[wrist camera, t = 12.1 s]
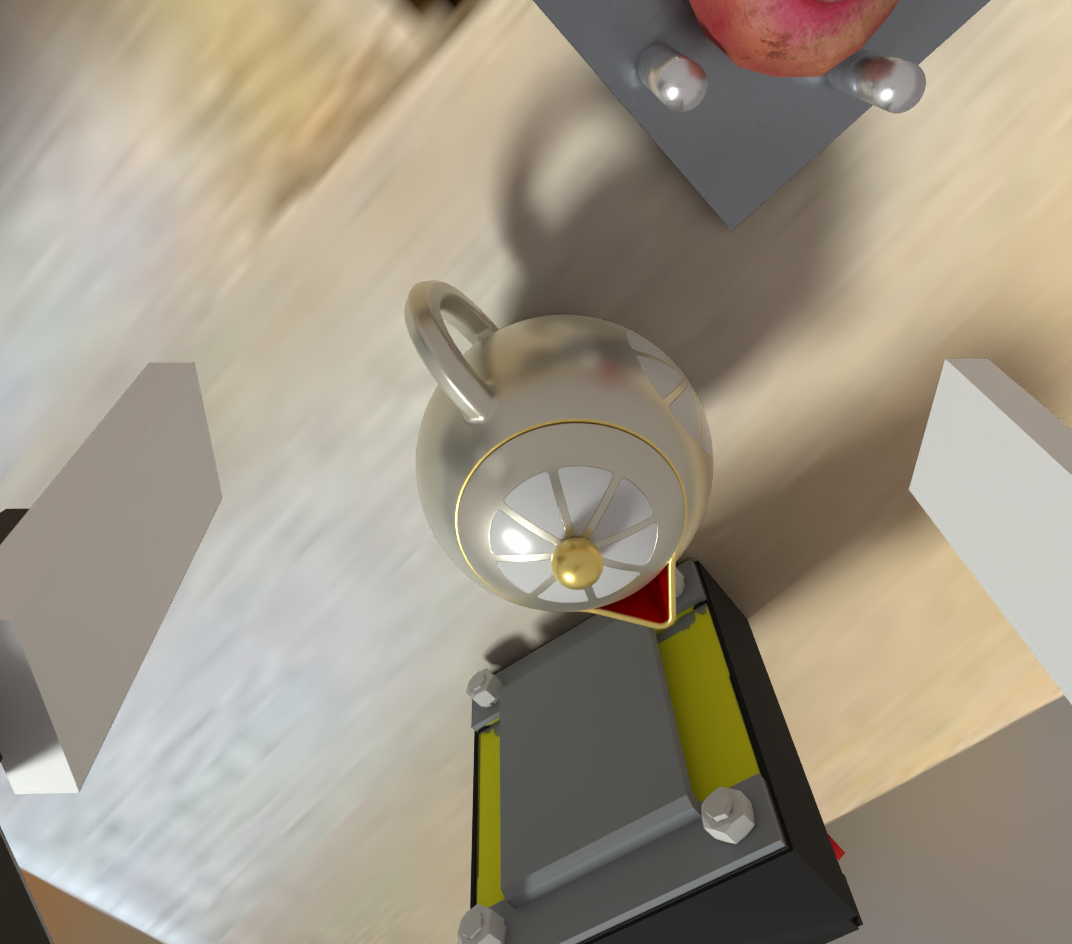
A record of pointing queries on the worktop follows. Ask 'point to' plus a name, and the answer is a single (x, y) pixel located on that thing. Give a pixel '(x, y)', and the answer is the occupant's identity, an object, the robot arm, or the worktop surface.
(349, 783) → the worktop surface
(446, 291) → the teapot
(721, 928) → the electrical component
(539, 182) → the worktop surface
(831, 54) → the fruit
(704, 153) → the grey square pegged plate
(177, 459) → the robot arm
